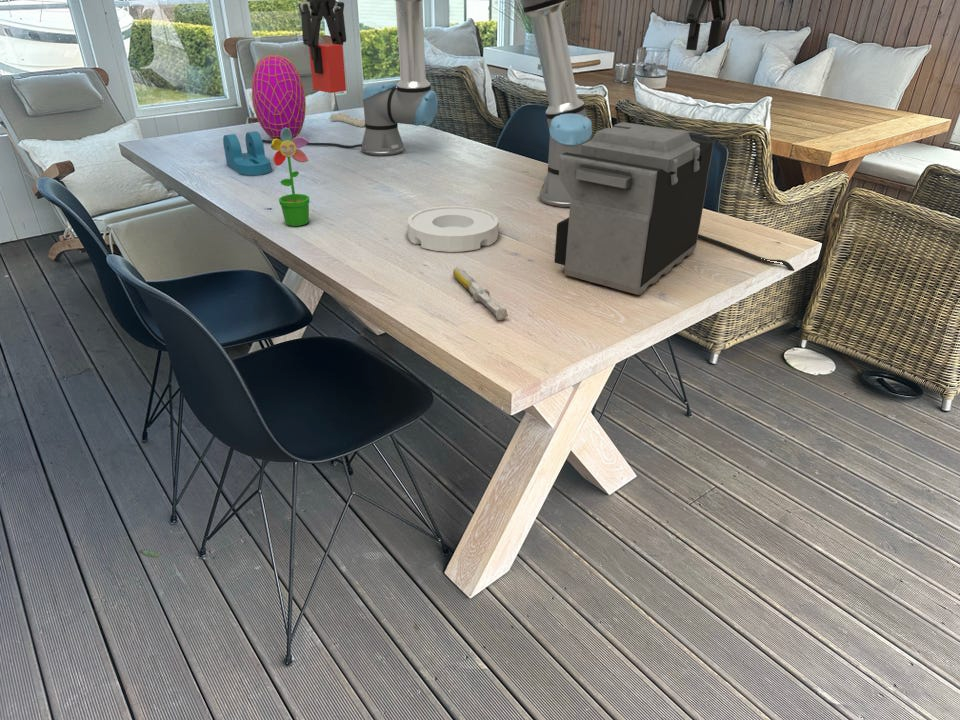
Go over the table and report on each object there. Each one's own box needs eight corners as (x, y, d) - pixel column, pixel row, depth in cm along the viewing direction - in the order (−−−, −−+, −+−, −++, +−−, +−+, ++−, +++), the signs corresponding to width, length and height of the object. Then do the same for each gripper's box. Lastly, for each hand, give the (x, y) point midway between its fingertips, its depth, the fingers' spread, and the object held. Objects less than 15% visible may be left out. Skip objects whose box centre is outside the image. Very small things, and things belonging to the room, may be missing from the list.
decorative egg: (293, 132, 276) (283, 50, 261) (319, 140, 264) (310, 56, 249) (249, 139, 265) (236, 54, 250) (273, 148, 253) (261, 60, 238)
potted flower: (284, 229, 179) (270, 130, 166) (277, 220, 185) (263, 124, 172) (319, 224, 183) (308, 127, 170) (311, 215, 188) (300, 121, 176)
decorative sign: (321, 115, 300) (341, 112, 306) (322, 117, 301) (341, 114, 307) (354, 125, 284) (374, 122, 289) (354, 127, 284) (374, 124, 290)
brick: (328, 87, 197) (324, 42, 191) (346, 90, 192) (342, 44, 186) (313, 89, 193) (308, 44, 187) (331, 93, 189) (326, 46, 183)
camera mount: (227, 164, 233) (221, 132, 227) (257, 160, 238) (252, 129, 233) (244, 176, 220) (239, 143, 215) (276, 172, 225) (271, 139, 220)
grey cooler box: (618, 231, 180) (632, 112, 165) (700, 250, 169) (723, 124, 154) (546, 276, 154) (555, 139, 139) (637, 301, 143) (657, 156, 128)
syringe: (449, 274, 155) (449, 263, 153) (465, 272, 156) (464, 260, 154) (490, 323, 135) (491, 310, 133) (508, 319, 136) (508, 307, 134)
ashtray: (413, 219, 187) (412, 204, 185) (498, 221, 186) (498, 206, 184) (402, 250, 167) (401, 235, 165) (497, 252, 166) (498, 237, 164)
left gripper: (337, -25, 187) (344, 67, 198) (280, -24, 174) (292, 74, 186) (355, -24, 183) (362, 70, 194) (299, -24, 170) (309, 77, 182)
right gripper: (722, -41, 191) (708, 43, 202) (681, -41, 174) (669, 50, 185) (748, -40, 187) (733, 45, 197) (709, -41, 170) (695, 52, 181)
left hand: (328, 71), depth 190 cm, fingers closed on brick, 6 cm apart
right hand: (702, 48), depth 191 cm, fingers open, 13 cm apart
